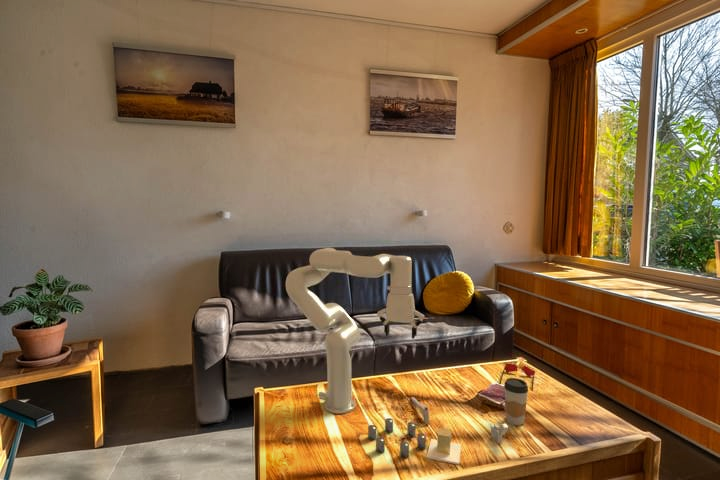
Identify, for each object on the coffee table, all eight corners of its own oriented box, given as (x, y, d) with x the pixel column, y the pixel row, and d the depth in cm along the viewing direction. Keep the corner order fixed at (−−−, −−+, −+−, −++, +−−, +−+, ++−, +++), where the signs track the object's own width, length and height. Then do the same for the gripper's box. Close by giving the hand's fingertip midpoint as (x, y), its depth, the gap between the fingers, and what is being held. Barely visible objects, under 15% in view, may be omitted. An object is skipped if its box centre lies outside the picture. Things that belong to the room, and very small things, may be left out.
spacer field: (361, 450, 129) (361, 438, 129) (374, 426, 143) (374, 415, 143) (422, 462, 123) (422, 450, 123) (428, 436, 137) (429, 425, 137)
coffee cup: (527, 418, 149) (528, 379, 148) (526, 429, 142) (528, 389, 140) (503, 413, 153) (505, 375, 151) (501, 424, 145) (503, 384, 144)
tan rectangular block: (437, 452, 127) (437, 434, 127) (438, 445, 131) (439, 427, 131) (449, 454, 126) (450, 436, 126) (450, 447, 130) (451, 430, 129)
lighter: (490, 437, 137) (491, 415, 136) (494, 436, 137) (495, 414, 137) (503, 449, 130) (503, 426, 129) (507, 448, 131) (508, 425, 130)
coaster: (426, 458, 125) (426, 456, 125) (431, 440, 135) (431, 438, 135) (459, 464, 122) (459, 462, 122) (461, 446, 132) (461, 444, 132)
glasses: (535, 377, 185) (535, 367, 185) (532, 392, 171) (533, 381, 170) (504, 371, 192) (504, 361, 191) (499, 385, 177) (499, 374, 177)
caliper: (428, 425, 144) (429, 409, 144) (426, 426, 144) (426, 409, 144) (412, 398, 164) (412, 384, 164) (410, 399, 164) (410, 384, 164)
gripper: (375, 290, 142) (374, 336, 143) (423, 294, 137) (422, 342, 138) (380, 286, 149) (380, 330, 151) (426, 289, 144) (425, 335, 145)
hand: (400, 336), depth 144 cm, fingers open, 9 cm apart
